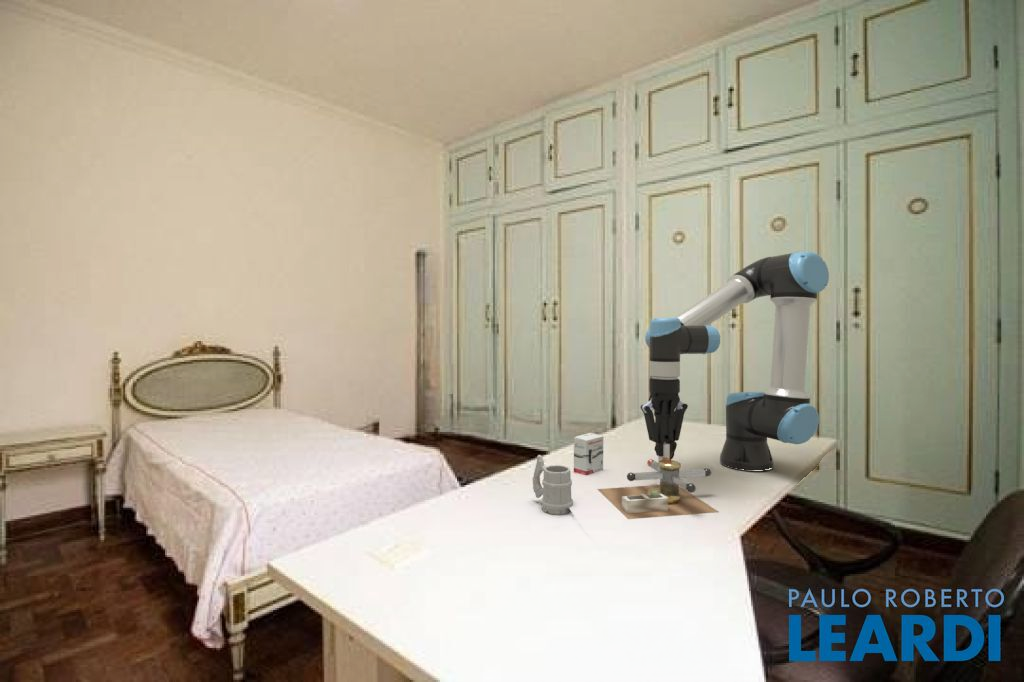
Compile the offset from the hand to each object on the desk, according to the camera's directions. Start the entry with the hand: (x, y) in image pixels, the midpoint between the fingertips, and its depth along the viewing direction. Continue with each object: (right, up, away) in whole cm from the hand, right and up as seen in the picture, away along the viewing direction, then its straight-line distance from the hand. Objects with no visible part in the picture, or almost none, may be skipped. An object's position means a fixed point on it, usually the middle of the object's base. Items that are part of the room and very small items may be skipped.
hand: (663, 468), depth 126 cm
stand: (-5, -7, -7) cm, 11 cm away
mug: (-30, -8, -7) cm, 32 cm away
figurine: (+4, -7, +12) cm, 14 cm away
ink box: (-17, -7, +17) cm, 25 cm away
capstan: (-1, -6, -6) cm, 9 cm away
